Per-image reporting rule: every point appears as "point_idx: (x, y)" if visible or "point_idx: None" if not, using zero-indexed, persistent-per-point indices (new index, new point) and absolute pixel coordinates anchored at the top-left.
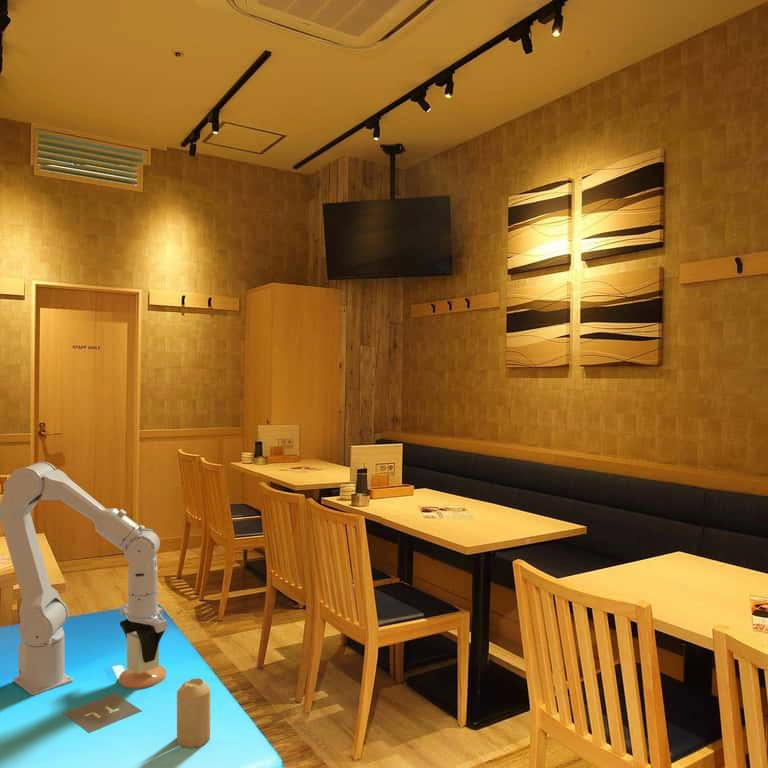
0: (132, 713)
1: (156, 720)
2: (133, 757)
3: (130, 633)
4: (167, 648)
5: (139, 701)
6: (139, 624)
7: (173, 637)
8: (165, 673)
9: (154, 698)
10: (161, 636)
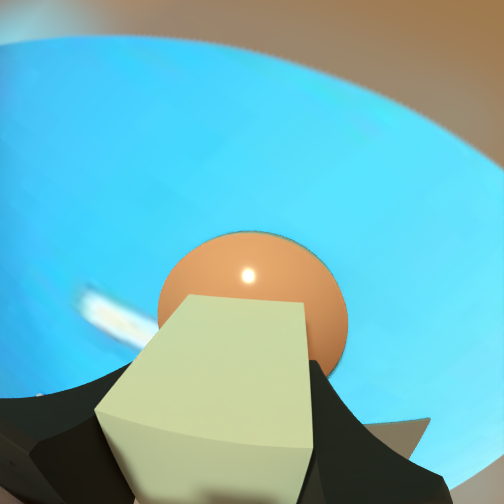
0: (416, 436)
1: (480, 406)
2: (495, 456)
3: (149, 500)
4: (83, 99)
5: (383, 403)
6: (93, 481)
7: (43, 53)
8: (325, 268)
9: (411, 370)
10: (389, 450)
